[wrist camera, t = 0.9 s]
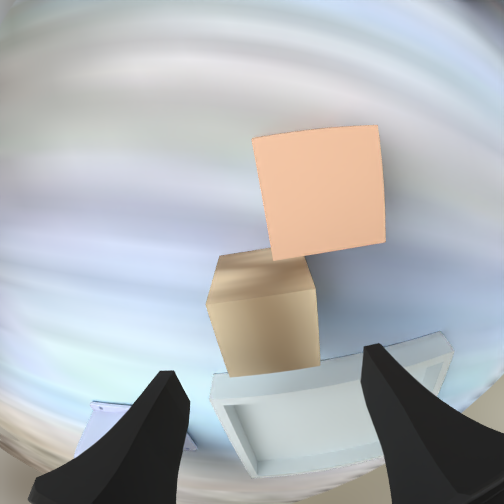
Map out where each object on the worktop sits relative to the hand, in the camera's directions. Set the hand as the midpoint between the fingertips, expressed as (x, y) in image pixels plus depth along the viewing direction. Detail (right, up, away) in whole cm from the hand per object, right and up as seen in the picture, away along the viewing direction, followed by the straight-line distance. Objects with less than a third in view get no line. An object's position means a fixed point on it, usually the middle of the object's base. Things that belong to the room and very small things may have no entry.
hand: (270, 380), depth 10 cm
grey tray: (+7, -10, +12) cm, 17 cm away
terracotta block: (+2, +9, +4) cm, 10 cm away
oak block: (0, +3, +7) cm, 8 cm away
